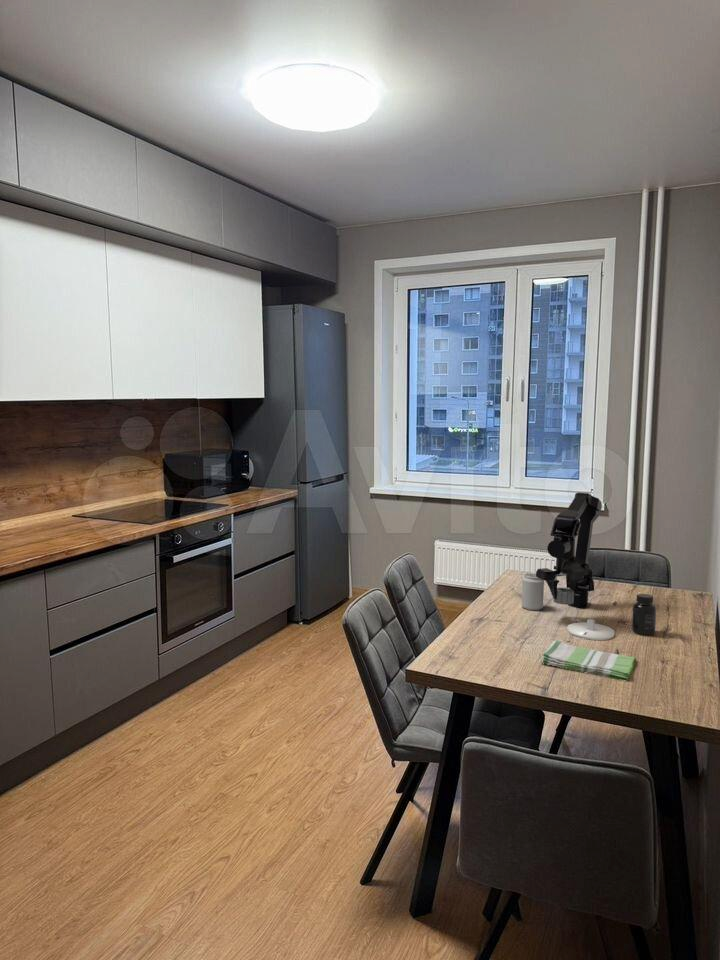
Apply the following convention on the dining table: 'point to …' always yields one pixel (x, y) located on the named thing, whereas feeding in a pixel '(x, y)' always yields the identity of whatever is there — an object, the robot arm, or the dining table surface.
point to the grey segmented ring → (564, 596)
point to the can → (532, 592)
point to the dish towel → (589, 661)
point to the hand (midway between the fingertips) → (563, 598)
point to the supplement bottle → (644, 615)
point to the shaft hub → (590, 630)
